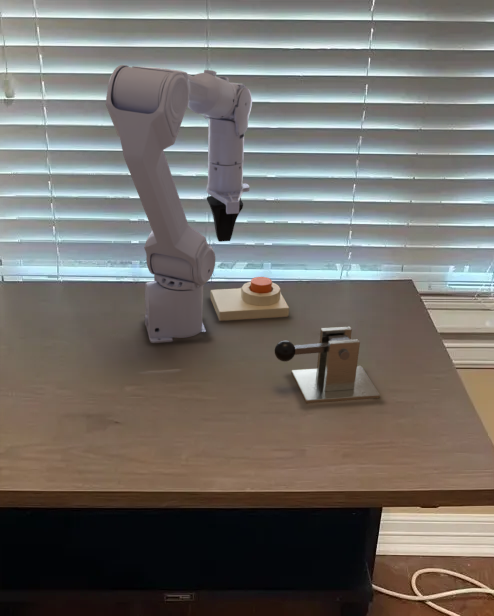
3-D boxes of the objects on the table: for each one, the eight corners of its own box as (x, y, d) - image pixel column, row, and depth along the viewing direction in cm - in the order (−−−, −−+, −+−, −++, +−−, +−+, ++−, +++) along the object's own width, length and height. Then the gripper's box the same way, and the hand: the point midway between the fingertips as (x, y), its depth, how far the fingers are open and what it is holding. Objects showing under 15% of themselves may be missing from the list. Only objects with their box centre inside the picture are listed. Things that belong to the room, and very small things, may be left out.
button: (252, 295, 157) (253, 285, 156) (248, 286, 160) (248, 277, 159) (273, 294, 157) (274, 284, 156) (268, 285, 160) (269, 276, 159)
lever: (276, 366, 132) (277, 347, 130) (272, 356, 134) (272, 337, 133) (350, 359, 133) (352, 340, 131) (344, 349, 135) (346, 331, 134)
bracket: (305, 406, 133) (311, 352, 128) (290, 375, 140) (295, 323, 135) (379, 400, 134) (387, 346, 129) (360, 370, 142) (367, 318, 136)
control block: (219, 321, 156) (219, 302, 154) (210, 298, 163) (210, 280, 161) (288, 316, 157) (290, 297, 155) (276, 294, 164) (277, 276, 162)
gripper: (259, 173, 144) (255, 255, 152) (241, 145, 156) (238, 222, 164) (214, 175, 144) (213, 257, 152) (200, 147, 155) (199, 225, 163)
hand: (223, 239), depth 158 cm, fingers closed
